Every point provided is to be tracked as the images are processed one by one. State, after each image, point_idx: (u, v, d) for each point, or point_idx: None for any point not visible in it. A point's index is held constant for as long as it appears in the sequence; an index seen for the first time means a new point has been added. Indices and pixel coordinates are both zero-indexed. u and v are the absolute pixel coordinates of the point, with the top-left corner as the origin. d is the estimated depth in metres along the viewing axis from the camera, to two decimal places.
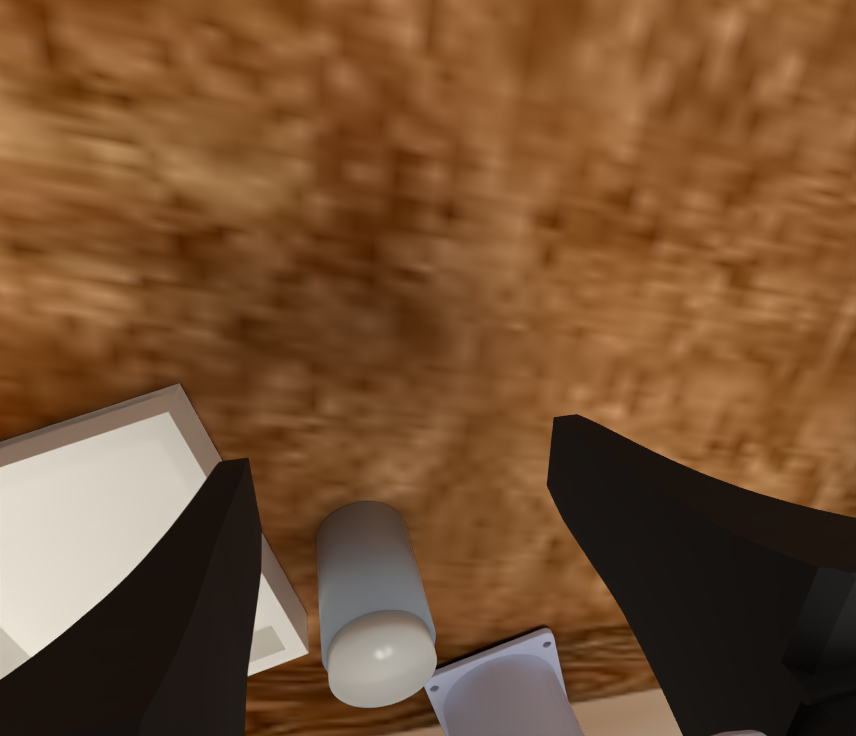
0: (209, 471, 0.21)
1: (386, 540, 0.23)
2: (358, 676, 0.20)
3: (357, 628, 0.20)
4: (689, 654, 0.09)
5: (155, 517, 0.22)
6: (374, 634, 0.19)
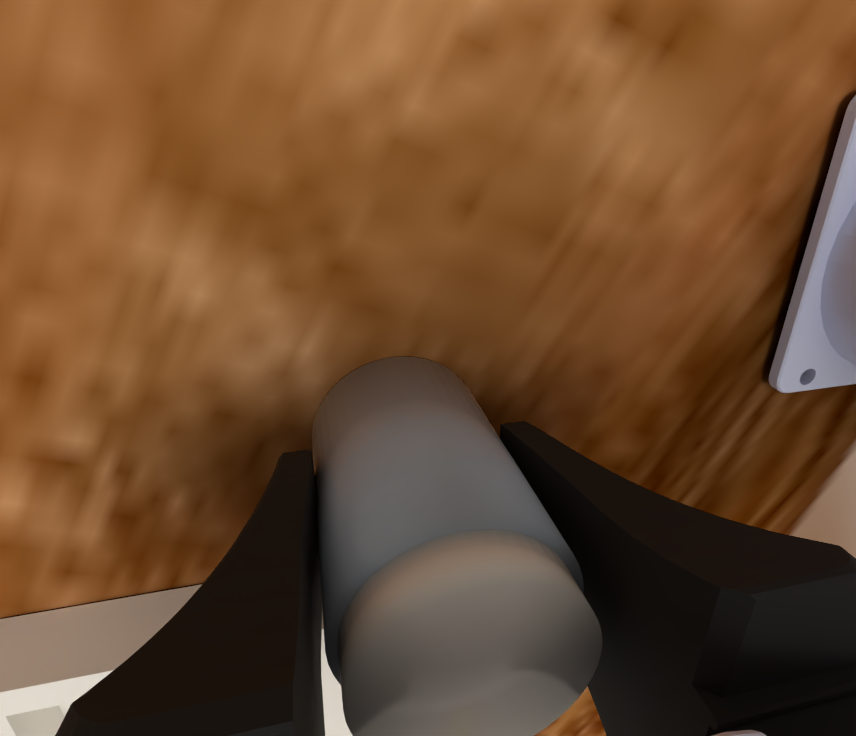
0: (113, 651, 0.13)
1: (332, 453, 0.11)
2: (460, 722, 0.08)
3: None
4: (617, 671, 0.09)
5: None
6: (346, 692, 0.08)
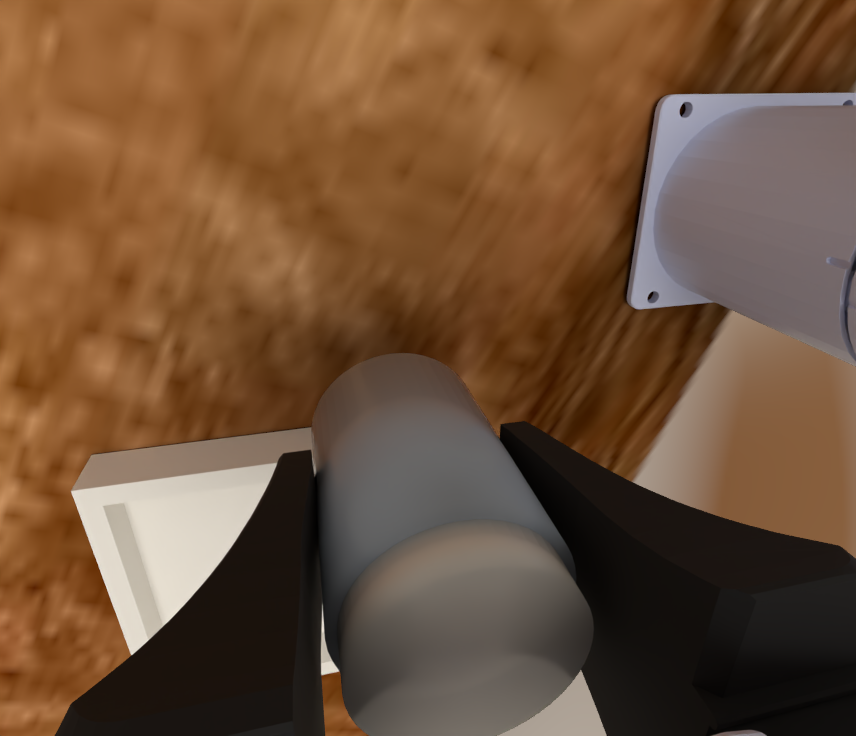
0: (171, 469, 0.20)
1: (331, 448, 0.11)
2: (456, 706, 0.09)
3: None
4: (617, 671, 0.09)
5: (243, 511, 0.22)
6: None
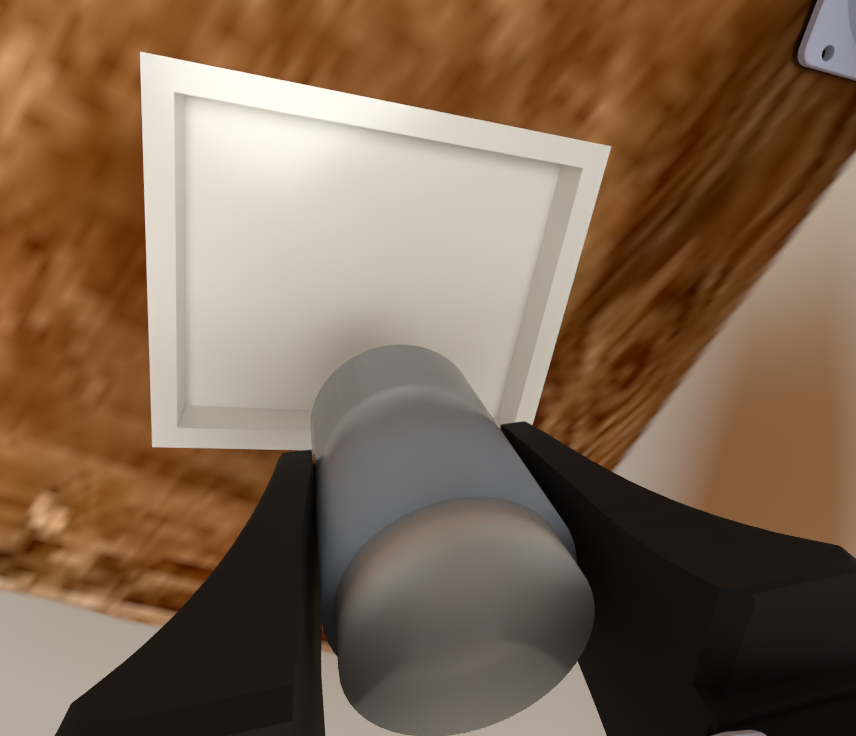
0: None
1: (332, 431, 0.11)
2: (452, 690, 0.09)
3: None
4: (617, 671, 0.09)
5: (322, 200, 0.18)
6: (342, 651, 0.08)
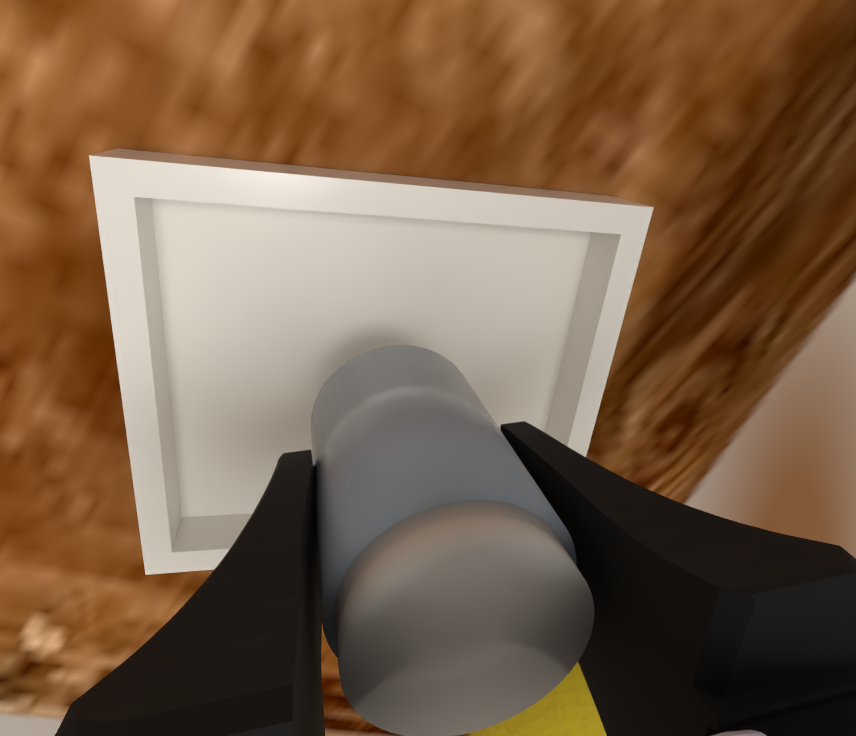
0: (244, 167, 0.13)
1: (333, 432, 0.11)
2: (453, 692, 0.09)
3: None
4: (616, 671, 0.09)
5: (320, 289, 0.16)
6: (342, 654, 0.08)
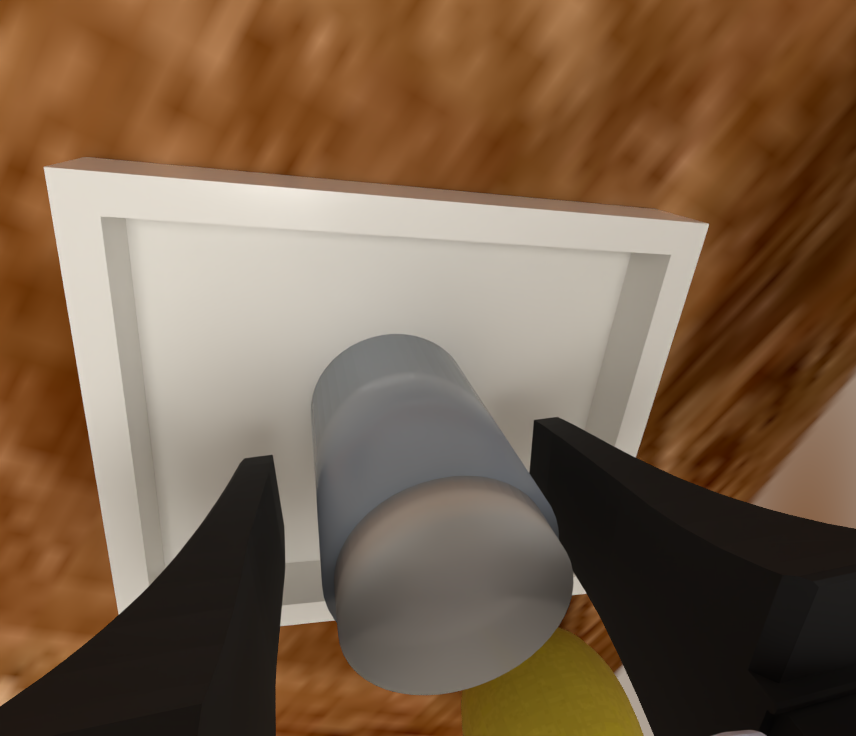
0: (234, 179, 0.11)
1: (332, 415, 0.12)
2: (442, 652, 0.09)
3: None
4: (662, 660, 0.09)
5: (323, 318, 0.14)
6: (341, 615, 0.09)
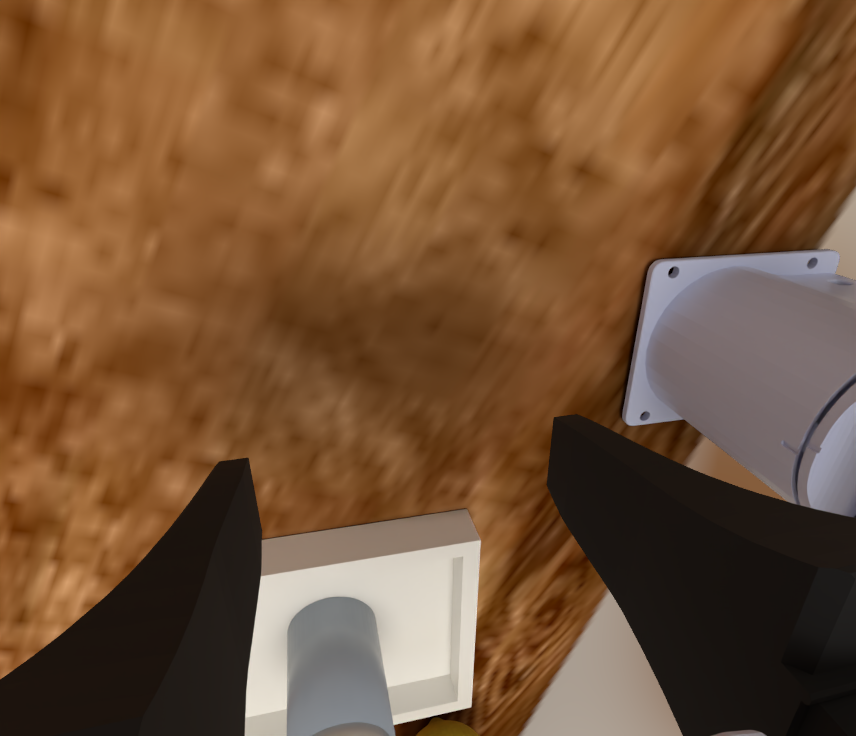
0: None
1: (292, 666, 0.24)
2: None
3: None
4: (689, 654, 0.09)
5: (286, 598, 0.26)
6: None
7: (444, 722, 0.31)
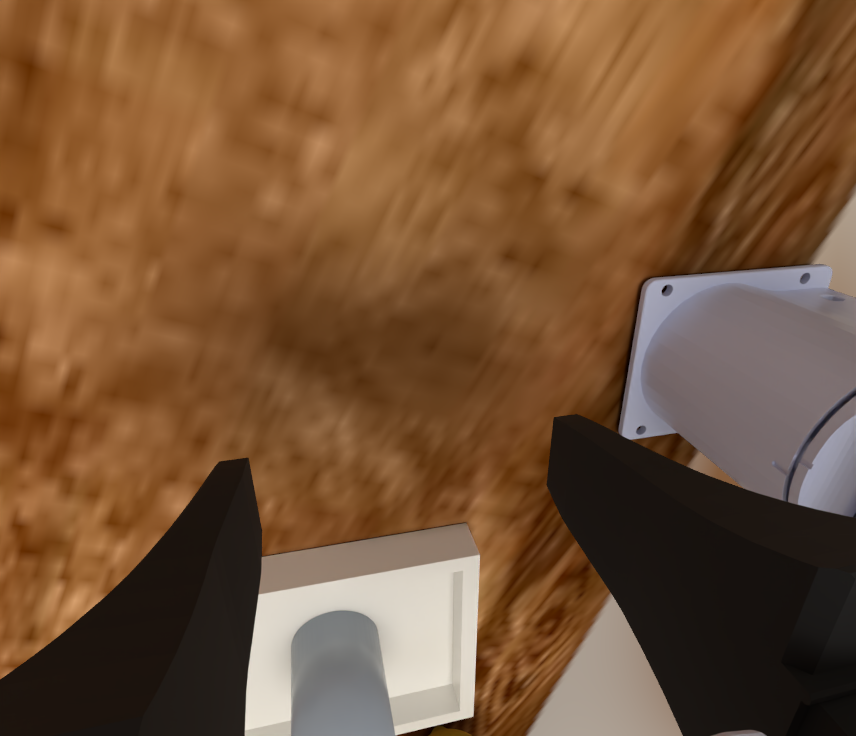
0: None
1: (296, 680, 0.25)
2: None
3: None
4: (689, 654, 0.09)
5: (289, 613, 0.26)
6: None
7: (447, 731, 0.32)
